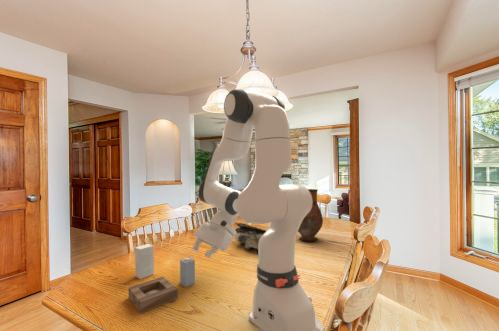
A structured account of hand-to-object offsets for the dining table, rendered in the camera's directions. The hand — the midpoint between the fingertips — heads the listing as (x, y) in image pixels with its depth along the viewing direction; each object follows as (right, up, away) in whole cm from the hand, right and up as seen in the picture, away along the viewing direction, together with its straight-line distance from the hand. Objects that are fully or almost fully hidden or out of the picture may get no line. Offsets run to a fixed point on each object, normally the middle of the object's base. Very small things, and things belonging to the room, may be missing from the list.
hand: (200, 253), depth 99 cm
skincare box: (-23, -10, +3) cm, 26 cm away
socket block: (-13, -10, -14) cm, 22 cm away
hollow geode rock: (+22, -10, +37) cm, 44 cm away
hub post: (-4, -10, -4) cm, 12 cm away
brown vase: (+53, -9, +47) cm, 71 cm away
